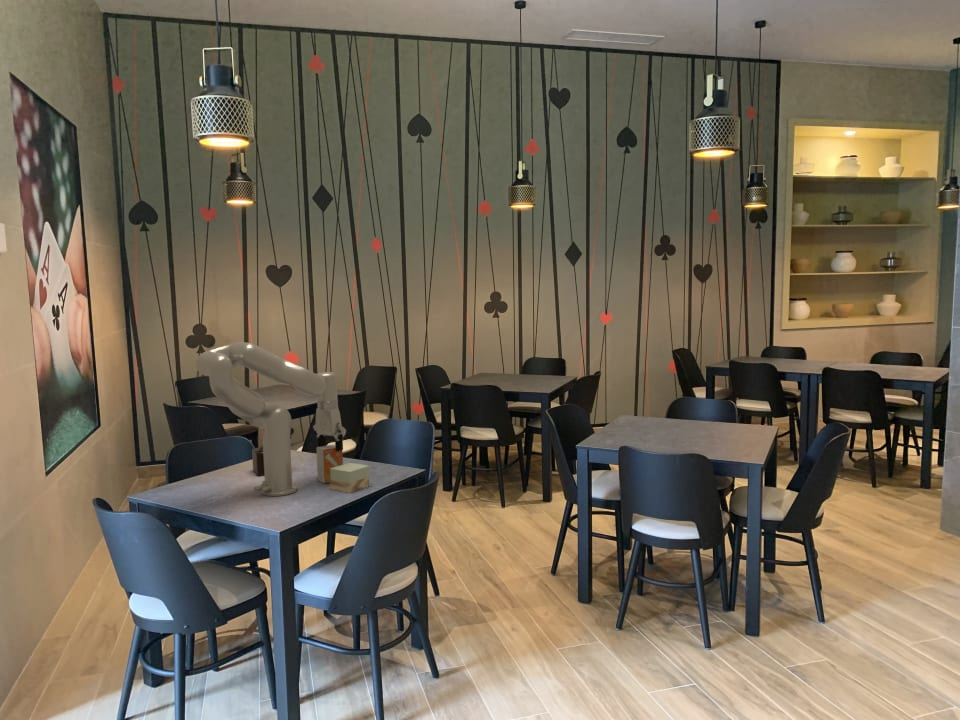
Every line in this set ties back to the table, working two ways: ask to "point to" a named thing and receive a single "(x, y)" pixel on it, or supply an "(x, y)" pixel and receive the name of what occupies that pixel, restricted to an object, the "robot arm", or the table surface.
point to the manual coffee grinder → (260, 459)
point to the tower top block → (349, 472)
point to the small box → (327, 461)
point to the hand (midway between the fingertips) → (330, 449)
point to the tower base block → (349, 485)
